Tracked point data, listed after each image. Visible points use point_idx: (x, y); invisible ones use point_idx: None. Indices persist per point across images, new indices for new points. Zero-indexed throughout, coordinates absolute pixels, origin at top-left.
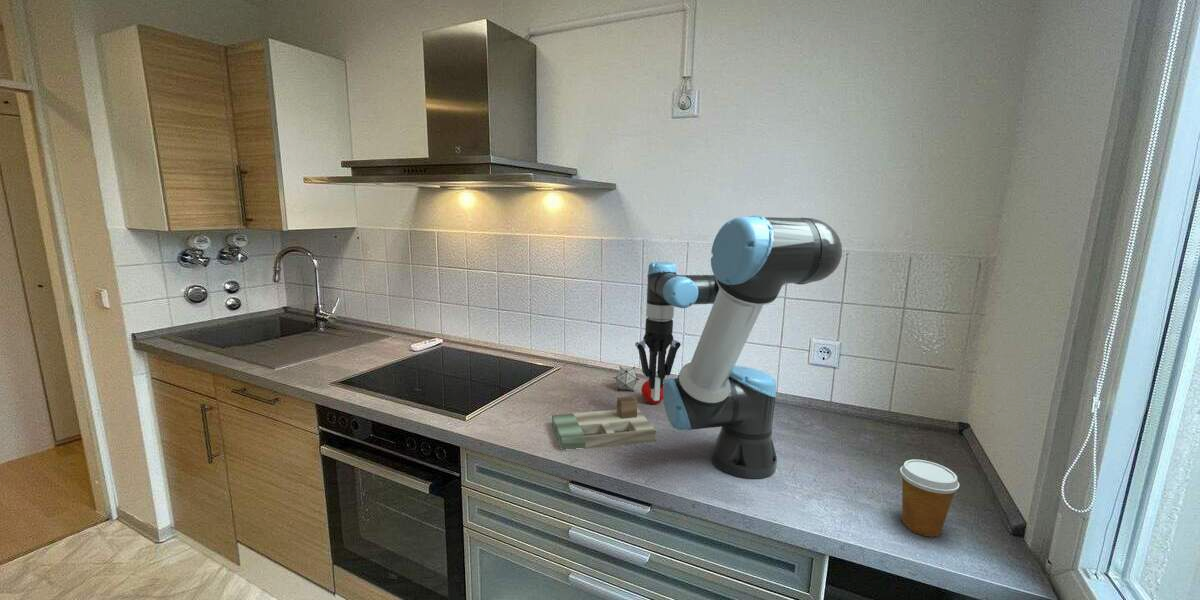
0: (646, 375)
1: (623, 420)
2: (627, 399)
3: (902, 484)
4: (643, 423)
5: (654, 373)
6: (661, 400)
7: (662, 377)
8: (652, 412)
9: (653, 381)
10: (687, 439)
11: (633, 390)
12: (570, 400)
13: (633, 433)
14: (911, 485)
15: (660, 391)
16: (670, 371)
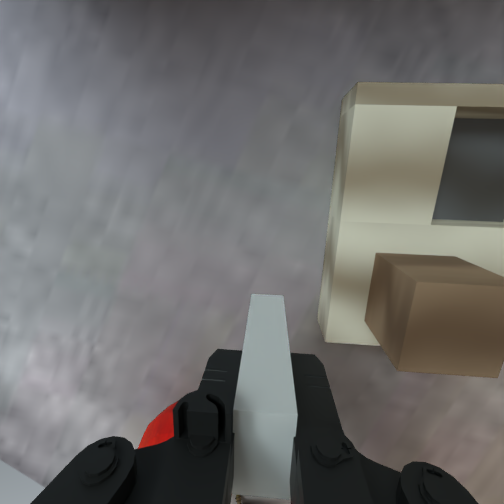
0: (451, 487)
1: (456, 236)
2: (455, 334)
3: None
4: (378, 180)
5: (327, 502)
6: (177, 401)
7: (214, 407)
8: (239, 342)
9: (303, 404)
10: (199, 80)
11: (237, 499)
12: (479, 492)
13: (485, 84)
14: None
15: (173, 430)
16: (47, 493)
